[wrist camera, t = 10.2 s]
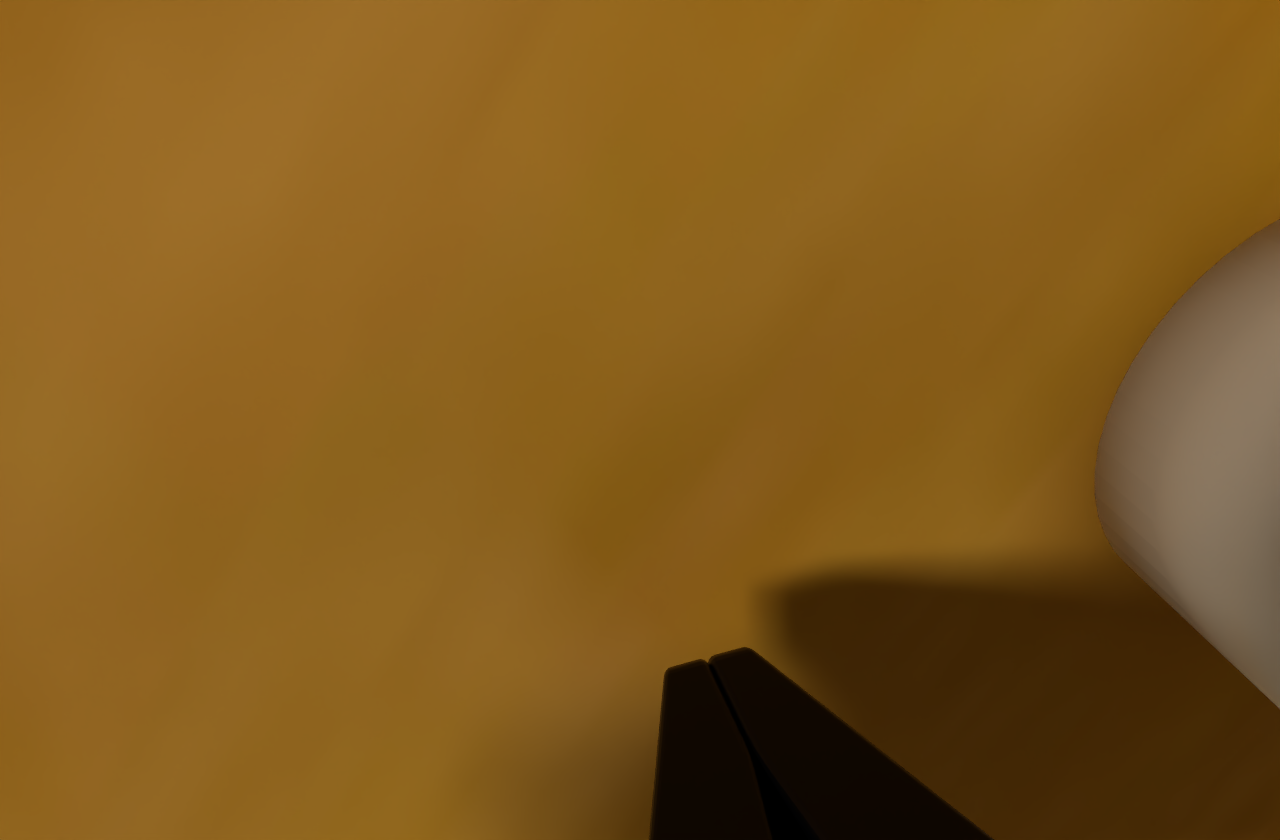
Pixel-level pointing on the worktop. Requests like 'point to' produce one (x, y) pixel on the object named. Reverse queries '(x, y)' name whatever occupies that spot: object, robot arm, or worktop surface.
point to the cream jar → (1206, 460)
